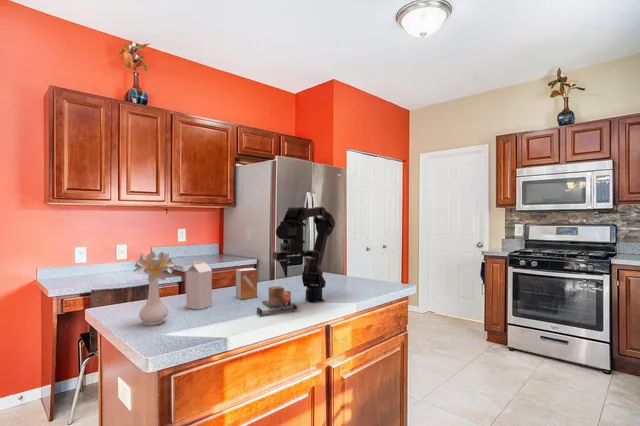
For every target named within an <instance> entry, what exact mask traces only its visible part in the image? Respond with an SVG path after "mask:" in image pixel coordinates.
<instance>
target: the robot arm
mask: <svg viewBox="0 0 640 426" xmlns="http://www.w3.org/2000/svg"><path fill="white" fill-rule="evenodd" d="M312 217H313V223H314V224H315V231H316V233H317V234H316V238H315V242H314V244H313V245H314V246H313V249H307V250H304V249H305V247H304V244H306V240H304V238H305V237H304V227H306V226H307V225H306V223H305V222H304V221H306V220H307V219H308V218H312ZM335 227H336V221H335V218H334V217H333V216H332V214H331V213H329V212H328V211H327V210H326V208H325V207H323V206H314V207H308V208H307V207H304V206H291V207H290V206H289V207H288V208H287V210H286V212H285V215H284V218H283V220H282V221H280V224H279V225H278V226H277V227H276V230H275V235H276V236H277V238H278V239H280V240H287V239H288V240H287V242H288V243H287V244H286V242H282V243H280V246H279V250H280V251H274V252H273V253H272V260H275V261H276V262H277V263H279V264H280V267H281V269H282V272H283V275H284V278H287V277H288V260H287V259H289V258H303V257H304V260H305V265H304V267H303V271H302V273H301V274H302V275H301V280H302V284H303V285H302V286H303V287H304V288H305V287H306V289H305V299H304V300H305V301H307V302H309V303H318V302H325V299H323V289H324V288H325V287H326V283H327V282H326V280H325V278H324V277H323V273H324V272H323V269H322V262H323V258H324V255H325V254H324V253H325V250H326V245H327V241H328V237H329V236H330V235H331V234H332V233H333V231H334V228H335Z"/></svg>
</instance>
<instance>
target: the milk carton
mask: <svg viewBox="0 0 640 426" xmlns="http://www.w3.org/2000/svg"><path fill="white" fill-rule="evenodd" d="M212 275H213V270H212V268H211V267H210V266H209V264H207V263H206V260H205V259H204V260H197V261H193V262H192V265H191V266H190V267H189V268H188V269H187V270H186V275H185V276H186V280H185V281H186V285H185V286H186V289H185V290H186V293H185V294H186V296H185V297H186V299H185V300H186V307H185V308H186V309H193V310H198V311H199V310H203V309H207V308H209V307H212V306H213V301H212V300H213V298H212V297H213V290H212V289H213V286H212V285H213V283H212V282H213V276H212Z"/></svg>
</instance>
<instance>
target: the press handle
mask: <svg viewBox="0 0 640 426" xmlns="http://www.w3.org/2000/svg"><path fill="white" fill-rule="evenodd" d="M291 298H292V292H291V291H290V290H284V291H283V304H280V308H281V309H283V310H289V309H293V305H292V304H291V303H292V302H291V301H292V299H291ZM280 308H279V309H280Z"/></svg>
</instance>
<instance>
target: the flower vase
mask: <svg viewBox="0 0 640 426" xmlns="http://www.w3.org/2000/svg"><path fill="white" fill-rule="evenodd" d="M144 255H145V254H144V253H143V252H142V253H141V254H140V256H139V259H138V260H136V263H135V264H134V268H135V269H134V271H133V274H134V273H135V272H136V273H137V274H139V275H141V274H143V273H145V274H147V275H148V279H147V281H148V297H147V300H146V303H145V304H144V305H143V307H142V308H141V309H140V310H139V314H138V317H139V319H140V320H141V321H142V322H143V324H144V325H145V326H157V325H159V324H160V325H161V324H162V323H163V322H164V319H166V318H167V316H168V314H169V310H168V308H167V306H166V305H165V304H164V303H163V302H162V301H161V298H160V293H159V292H160V291H159V280H161V281H165V280H166V275H165V274H164V273H163V272H166V271H167V272H168V273H169V274H172V273H173V272H174V266H175V265H176V264H175V262H174V261H172V257H170V252H168V253H164V251H163V252H161V251H160V252H159V253H158V254H156V252H155V251H153V250H150V253H148V254H147V255H146V257H145V256H144Z"/></svg>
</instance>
